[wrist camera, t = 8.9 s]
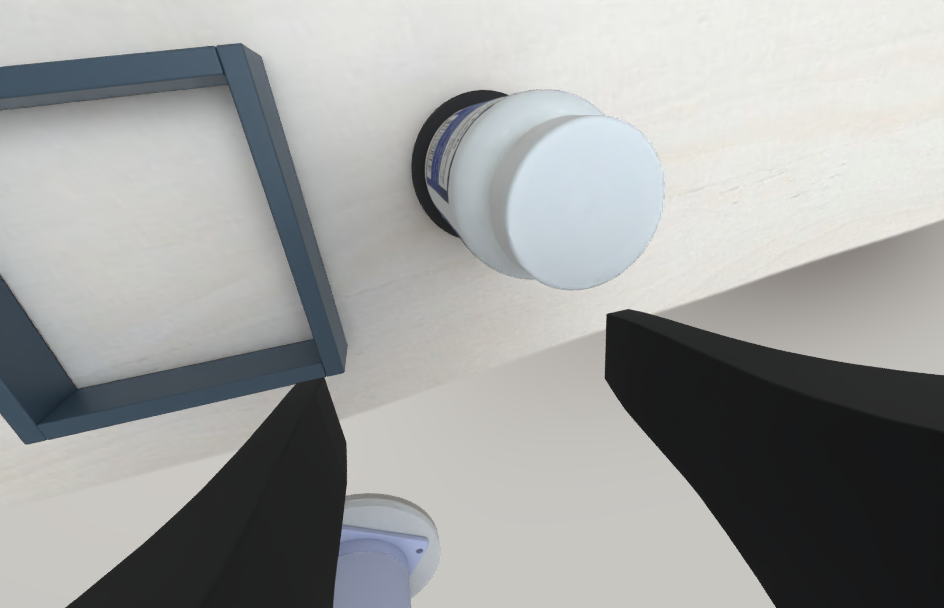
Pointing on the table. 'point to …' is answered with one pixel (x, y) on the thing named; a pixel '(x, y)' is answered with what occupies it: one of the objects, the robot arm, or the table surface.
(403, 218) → the table surface
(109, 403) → the square picture frame
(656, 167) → the pill bottle
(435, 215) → the coaster
